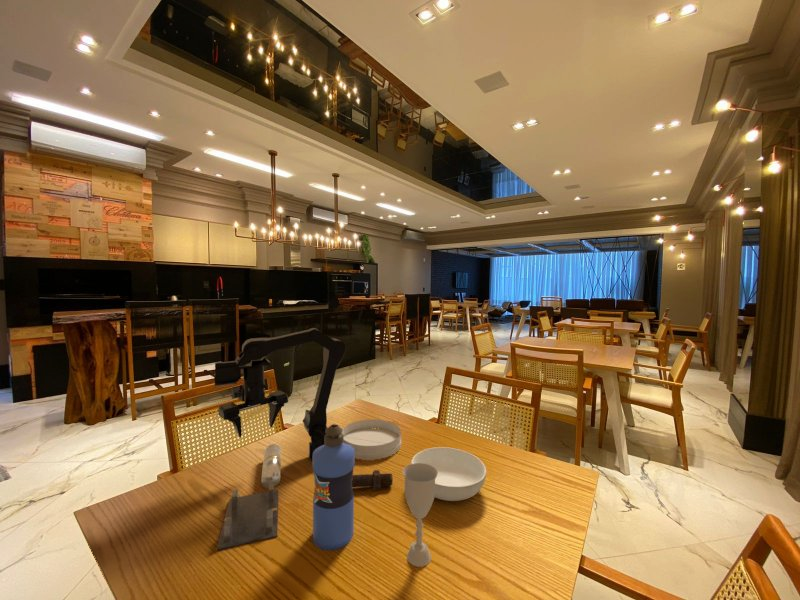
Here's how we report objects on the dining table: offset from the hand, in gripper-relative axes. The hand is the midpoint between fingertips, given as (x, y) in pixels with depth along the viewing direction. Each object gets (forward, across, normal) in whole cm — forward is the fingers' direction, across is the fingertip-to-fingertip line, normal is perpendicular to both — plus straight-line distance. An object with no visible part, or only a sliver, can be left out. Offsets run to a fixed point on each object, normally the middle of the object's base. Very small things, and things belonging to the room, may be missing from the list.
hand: (255, 431), depth 98 cm
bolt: (+14, -18, +29) cm, 37 cm away
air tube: (+12, -3, +4) cm, 13 cm away
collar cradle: (+12, +9, +19) cm, 24 cm away
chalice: (+13, -12, +55) cm, 58 cm away
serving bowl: (+14, -35, +45) cm, 59 cm away
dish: (+14, -36, +10) cm, 40 cm away
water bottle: (+13, -2, +38) cm, 40 cm away
